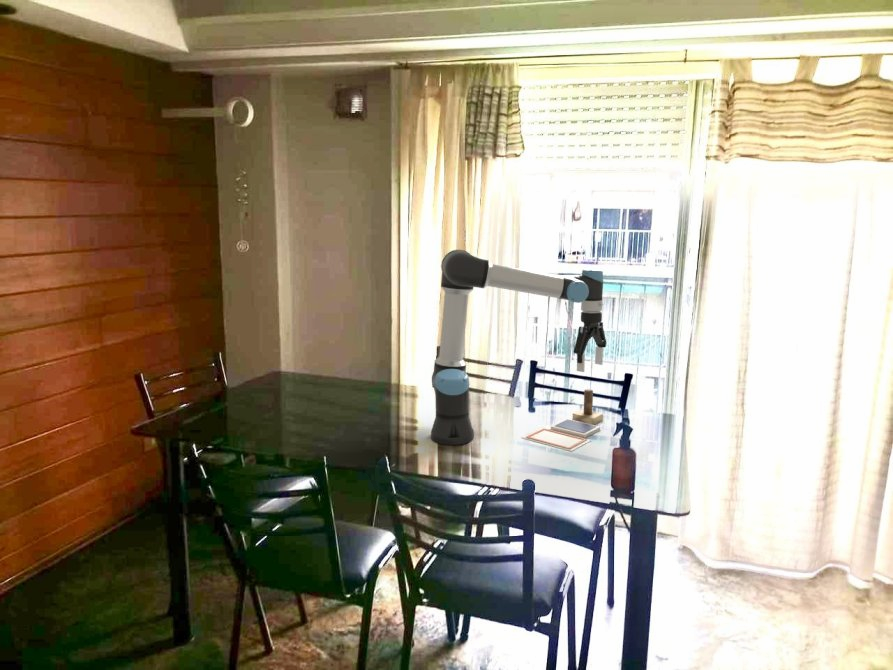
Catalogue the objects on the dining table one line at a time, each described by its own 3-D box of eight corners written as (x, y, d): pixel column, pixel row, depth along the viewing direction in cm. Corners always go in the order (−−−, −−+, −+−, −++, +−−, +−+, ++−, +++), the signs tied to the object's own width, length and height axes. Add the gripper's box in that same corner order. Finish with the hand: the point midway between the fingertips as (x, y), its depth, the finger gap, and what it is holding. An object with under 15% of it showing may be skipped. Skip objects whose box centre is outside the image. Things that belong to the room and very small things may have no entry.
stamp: (572, 420, 250) (573, 390, 248) (581, 415, 255) (582, 386, 253) (593, 425, 244) (594, 394, 242) (602, 420, 249) (604, 390, 247)
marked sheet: (521, 437, 231) (521, 436, 231) (542, 428, 241) (542, 426, 241) (571, 451, 218) (571, 450, 218) (591, 440, 228) (591, 439, 228)
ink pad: (550, 429, 240) (550, 425, 239) (566, 421, 248) (566, 418, 248) (584, 438, 231) (585, 434, 230) (600, 429, 239) (600, 426, 239)
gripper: (583, 317, 230) (581, 376, 234) (616, 307, 248) (614, 362, 253) (564, 314, 235) (563, 372, 239) (598, 306, 253) (597, 359, 257)
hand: (589, 367), depth 246 cm, fingers open, 13 cm apart
